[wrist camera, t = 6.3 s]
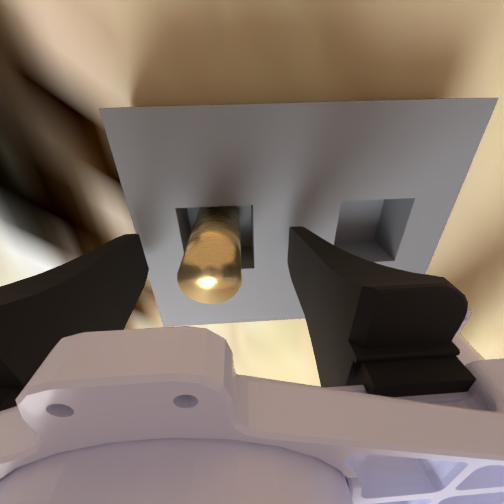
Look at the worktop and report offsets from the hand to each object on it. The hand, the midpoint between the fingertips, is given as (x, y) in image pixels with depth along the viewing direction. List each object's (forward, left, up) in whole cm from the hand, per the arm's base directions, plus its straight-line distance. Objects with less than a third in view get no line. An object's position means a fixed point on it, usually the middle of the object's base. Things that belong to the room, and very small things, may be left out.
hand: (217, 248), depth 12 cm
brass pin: (0, 0, -3) cm, 3 cm away
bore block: (0, -4, -4) cm, 6 cm away
